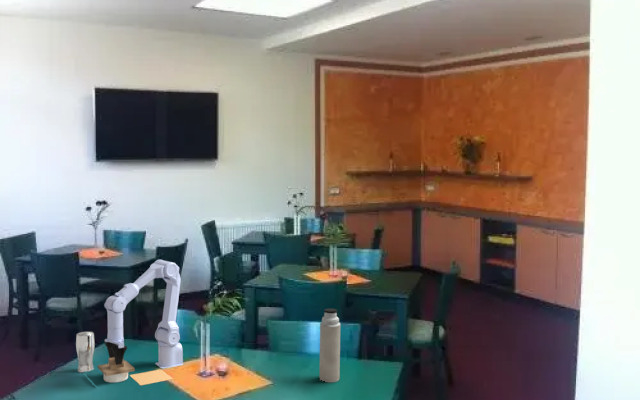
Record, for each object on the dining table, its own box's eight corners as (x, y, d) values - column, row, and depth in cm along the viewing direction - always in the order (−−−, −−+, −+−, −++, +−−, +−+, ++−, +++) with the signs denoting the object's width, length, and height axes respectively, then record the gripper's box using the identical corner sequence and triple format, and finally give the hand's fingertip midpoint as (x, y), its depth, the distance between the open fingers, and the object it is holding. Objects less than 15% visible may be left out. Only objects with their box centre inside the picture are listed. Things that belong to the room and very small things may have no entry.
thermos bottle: (323, 374, 263) (324, 306, 261) (342, 376, 261) (343, 308, 258) (316, 380, 256) (317, 310, 253) (335, 383, 253) (337, 312, 251)
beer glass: (88, 373, 260) (88, 336, 259) (73, 372, 261) (72, 335, 260) (98, 368, 267) (97, 332, 265) (82, 366, 268) (82, 330, 267)
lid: (125, 362, 261) (125, 352, 261) (134, 370, 252) (134, 359, 252) (97, 367, 255) (97, 356, 255) (106, 376, 246) (105, 364, 246)
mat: (161, 370, 265) (161, 369, 265) (173, 380, 254) (173, 378, 254) (129, 376, 258) (129, 375, 257) (140, 386, 247) (140, 385, 247)
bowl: (123, 374, 260) (123, 364, 260) (130, 380, 253) (130, 370, 253) (101, 378, 255) (101, 368, 255) (108, 385, 248) (107, 374, 248)
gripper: (99, 324, 256) (99, 358, 257) (110, 333, 244) (111, 368, 245) (117, 321, 260) (117, 355, 261) (129, 330, 248) (129, 365, 249)
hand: (115, 361), depth 253 cm, fingers open, 7 cm apart
